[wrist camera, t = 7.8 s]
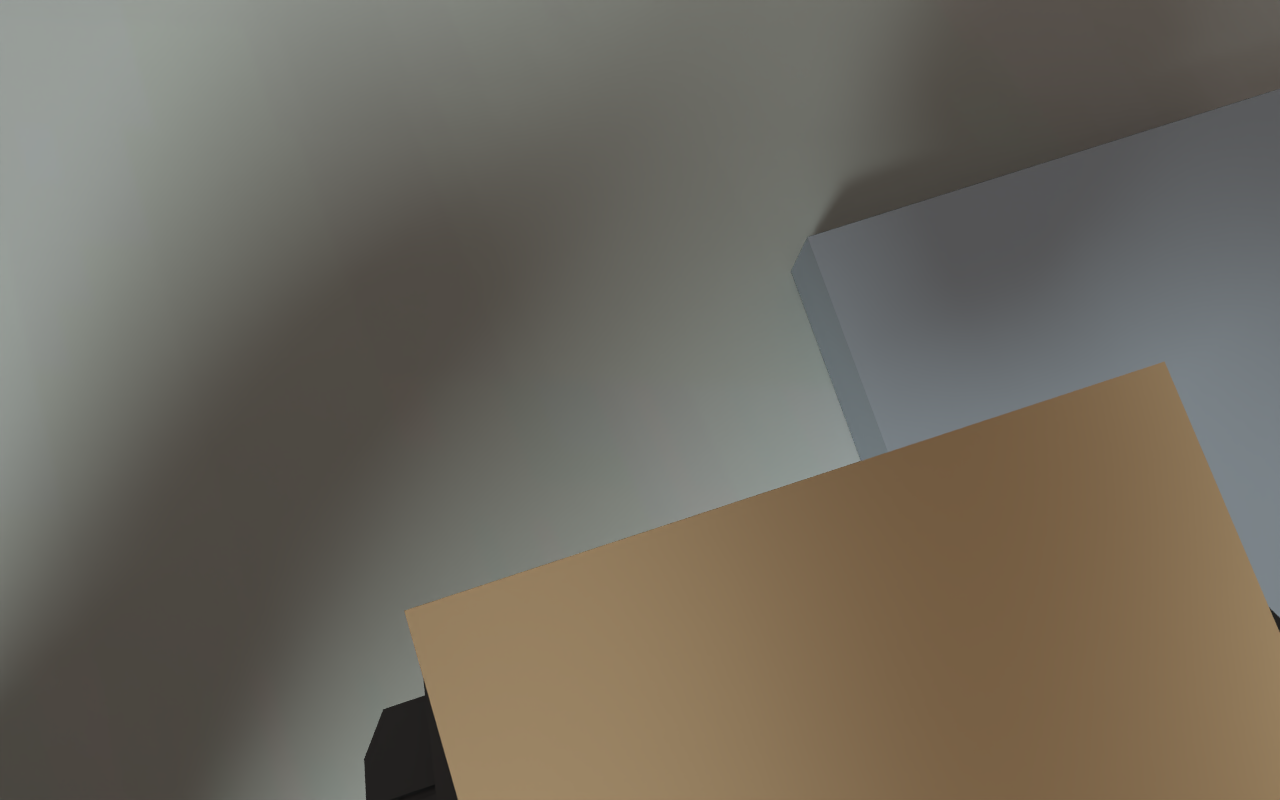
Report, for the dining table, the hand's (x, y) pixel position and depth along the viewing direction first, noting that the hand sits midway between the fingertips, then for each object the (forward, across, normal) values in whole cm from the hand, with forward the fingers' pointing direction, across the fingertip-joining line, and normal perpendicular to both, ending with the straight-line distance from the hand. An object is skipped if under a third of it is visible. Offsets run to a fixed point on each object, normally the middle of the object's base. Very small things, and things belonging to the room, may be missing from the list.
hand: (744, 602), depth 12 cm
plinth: (+15, -14, +13) cm, 24 cm away
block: (+2, 0, +4) cm, 5 cm away
